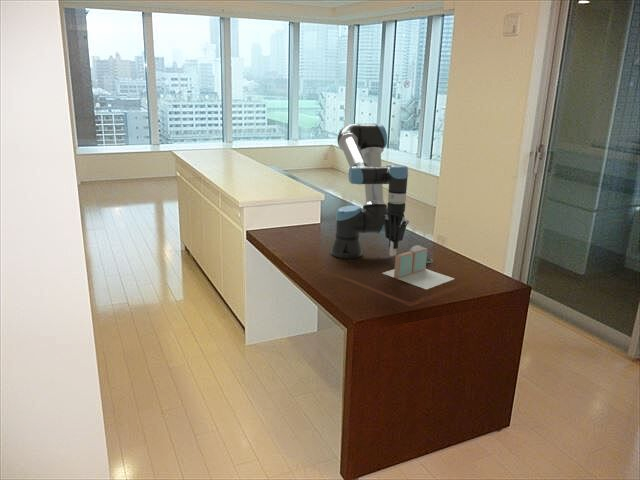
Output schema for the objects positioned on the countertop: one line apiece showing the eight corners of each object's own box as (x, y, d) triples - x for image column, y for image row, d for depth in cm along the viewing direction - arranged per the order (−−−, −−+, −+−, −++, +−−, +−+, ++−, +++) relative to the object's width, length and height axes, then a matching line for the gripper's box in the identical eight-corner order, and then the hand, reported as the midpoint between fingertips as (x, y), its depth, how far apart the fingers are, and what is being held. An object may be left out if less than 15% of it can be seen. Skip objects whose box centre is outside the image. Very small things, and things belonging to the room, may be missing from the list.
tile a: (394, 277, 226) (395, 255, 223) (407, 273, 232) (409, 251, 229) (398, 279, 224) (399, 256, 221) (411, 274, 230) (413, 252, 227)
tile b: (408, 272, 232) (410, 250, 229) (421, 268, 238) (423, 247, 235) (413, 274, 231) (414, 252, 228) (425, 269, 236) (427, 248, 233)
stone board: (381, 275, 231) (381, 273, 231) (410, 266, 244) (410, 263, 244) (426, 292, 214) (426, 289, 214) (454, 281, 227) (455, 278, 227)
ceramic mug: (410, 265, 245) (412, 249, 243) (408, 259, 253) (410, 244, 251) (433, 266, 245) (435, 251, 243) (430, 261, 253) (432, 245, 250)
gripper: (379, 200, 225) (375, 253, 232) (402, 206, 216) (398, 260, 223) (390, 198, 230) (387, 250, 237) (414, 203, 221) (410, 257, 228)
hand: (392, 255), depth 230 cm, fingers closed
